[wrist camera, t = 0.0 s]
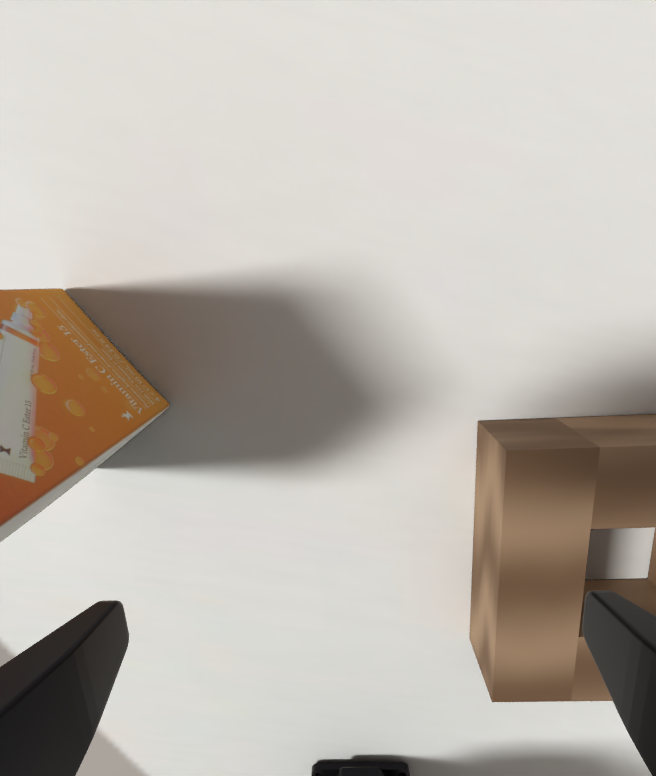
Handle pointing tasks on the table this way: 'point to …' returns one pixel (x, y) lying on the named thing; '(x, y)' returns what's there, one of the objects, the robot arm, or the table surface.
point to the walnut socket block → (552, 545)
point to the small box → (60, 401)
